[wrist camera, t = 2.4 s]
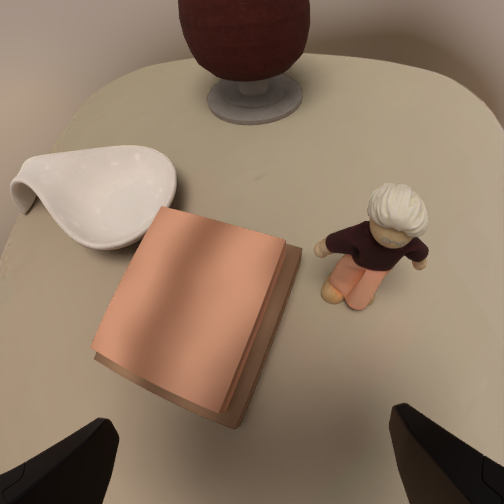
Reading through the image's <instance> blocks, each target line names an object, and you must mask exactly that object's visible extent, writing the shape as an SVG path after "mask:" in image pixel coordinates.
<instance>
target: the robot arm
mask: <svg viewBox="0 0 504 504" xmlns="http://www.w3.org/2000/svg"><path fill="white" fill-rule="evenodd" d="M389 430H390V435H391V439H392V443H393V448H394V453H395V457H396V462H397V466H398V470H399V473H400V476H401V479H402V482H403V485H404V488H405V491H406V494H407V497H408V500H409V503H410V504H504V467H503V466H501V465H500V464H498V463H496V462H494V461H493V460H491V459H490V458H488V457H486V456H483V454H482V453H480V452H479V451H477V450H475V449H474V448H472V447H471V446H469V445H468V444H466V443H465V442H463V441H462V440H460V439H459V438H457V437H456V436H454V435H453V434H451V433H450V432H448V431H447V430H445V429H444V428H442V427H441V426H439V425H438V424H436V423H435V422H433V421H432V420H430V419H429V418H428V417H426V416H425V415H423V414H422V413H420V412H419V411H417V410H416V409H414V408H413V407H412V406H410V405H409V404H407V403H401V404H397V405H394V406H393V407H392V411H391V416H390V421H389ZM118 444H119V435H118V433H117V431H116V429H115V427H114V426H113V424H112V422H111V421H110V420H109V419H106V418H97V419H95V420H94V421H92V422H91V423H89V424H87V425H86V426H84V427H83V428H81V429H79V430H78V431H76V432H75V433H73V434H71V435H70V436H68V437H67V438H65V439H63V440H62V441H60V442H58V443H57V444H55V445H53V446H52V447H50V448H48V449H47V450H45V451H43V452H42V453H40V454H38V455H37V456H35V457H33V458H31V459H30V460H28V461H27V462H24V463H23V464H21V465H19V466H17V467H15V468H14V469H12V470H10V471H8V472H6V473H3V474H1V475H0V504H102V503H103V500H104V497H105V494H106V491H107V488H108V485H109V482H110V479H111V475H112V471H113V467H114V462H115V457H116V453H117V448H118Z"/></svg>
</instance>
